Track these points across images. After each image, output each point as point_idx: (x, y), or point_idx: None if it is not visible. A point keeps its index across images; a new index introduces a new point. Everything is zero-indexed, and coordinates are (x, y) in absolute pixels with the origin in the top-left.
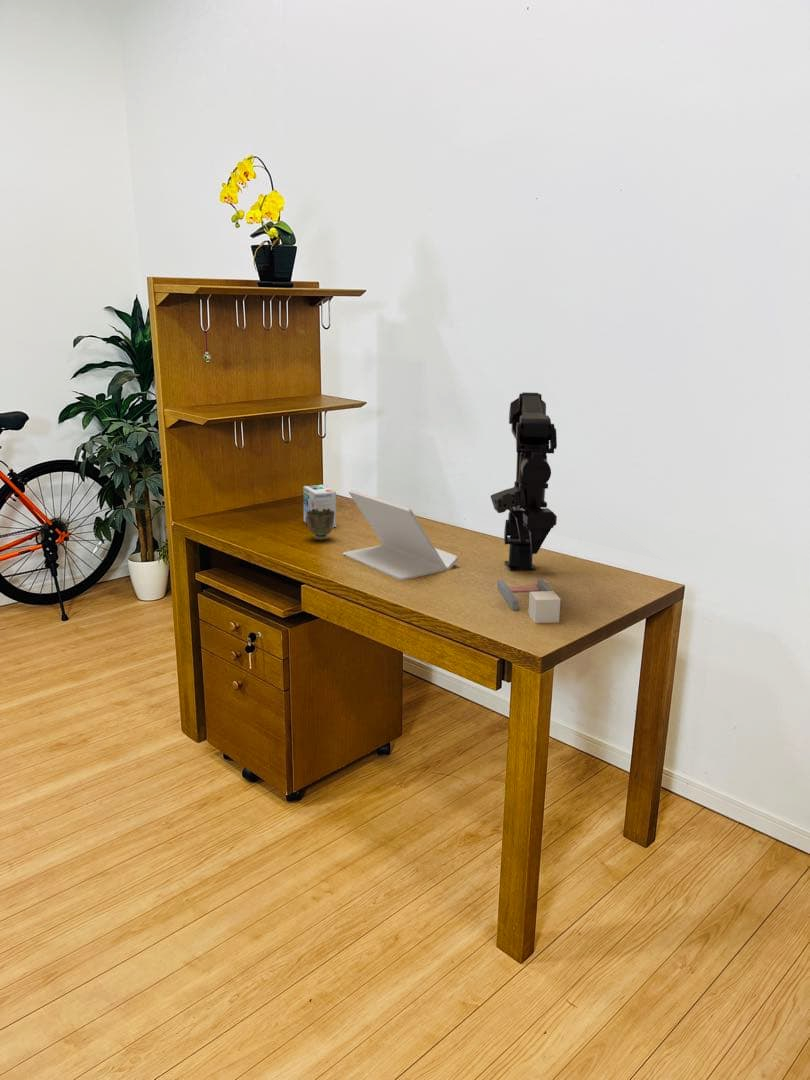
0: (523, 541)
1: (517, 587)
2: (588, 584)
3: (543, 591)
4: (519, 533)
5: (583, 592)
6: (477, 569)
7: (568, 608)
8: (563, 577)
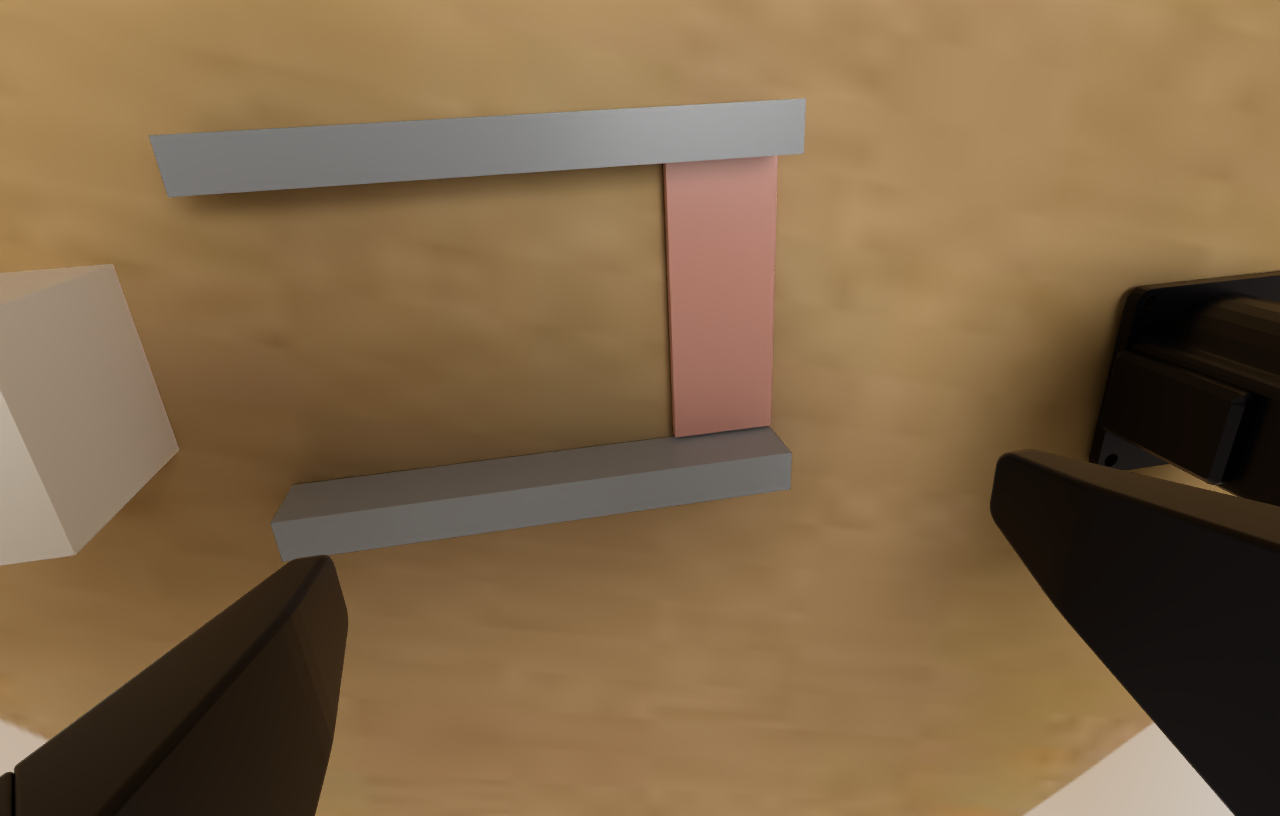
0: (995, 495)
1: (746, 276)
2: (781, 713)
3: (27, 464)
4: (1126, 499)
5: (643, 679)
6: (1255, 7)
7: None
8: (924, 602)
